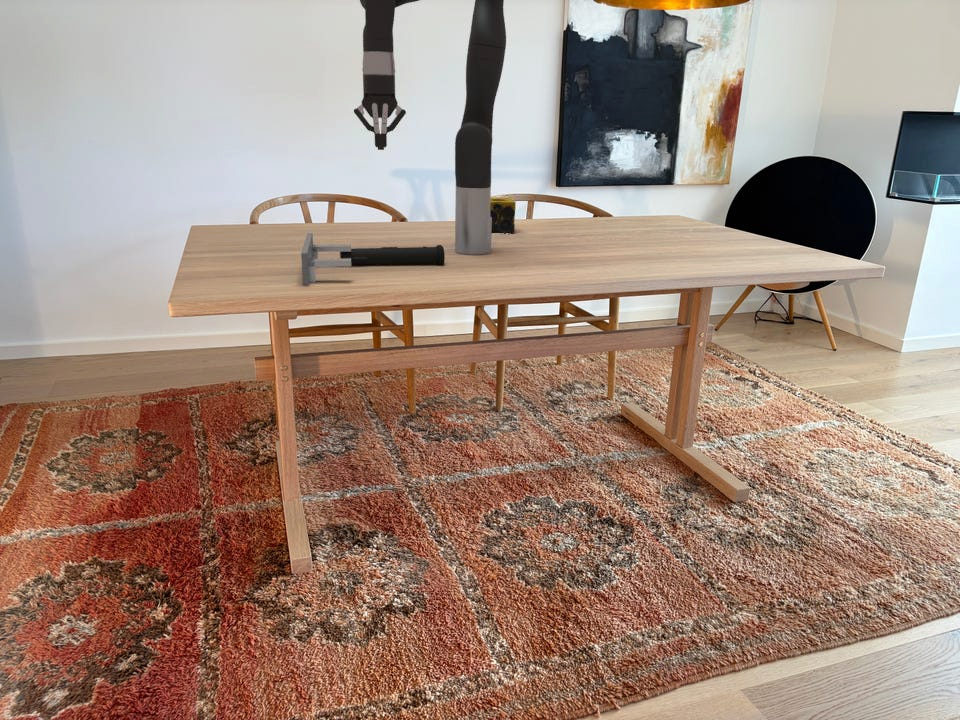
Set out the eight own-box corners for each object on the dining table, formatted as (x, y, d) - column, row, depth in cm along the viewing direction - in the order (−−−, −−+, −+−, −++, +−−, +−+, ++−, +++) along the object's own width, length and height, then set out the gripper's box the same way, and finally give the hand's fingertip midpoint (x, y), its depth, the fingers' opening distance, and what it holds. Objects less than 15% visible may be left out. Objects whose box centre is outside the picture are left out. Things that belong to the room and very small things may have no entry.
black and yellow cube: (478, 228, 233) (479, 197, 230) (510, 228, 234) (511, 197, 231) (482, 234, 224) (483, 201, 220) (514, 234, 225) (516, 201, 221)
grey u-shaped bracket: (351, 267, 176) (350, 244, 174) (352, 286, 159) (351, 260, 157) (313, 268, 175) (312, 244, 173) (309, 287, 158) (308, 261, 156)
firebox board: (315, 265, 178) (313, 233, 175) (310, 290, 155) (308, 253, 153) (309, 265, 177) (307, 233, 175) (303, 290, 155) (301, 253, 152)
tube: (441, 264, 183) (441, 242, 181) (445, 269, 178) (445, 247, 176) (340, 267, 178) (339, 244, 176) (341, 272, 173) (340, 249, 171)
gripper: (405, 74, 176) (406, 148, 182) (350, 73, 174) (353, 148, 180) (408, 73, 169) (409, 151, 175) (350, 72, 167) (353, 150, 173)
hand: (380, 149), depth 178 cm, fingers closed
